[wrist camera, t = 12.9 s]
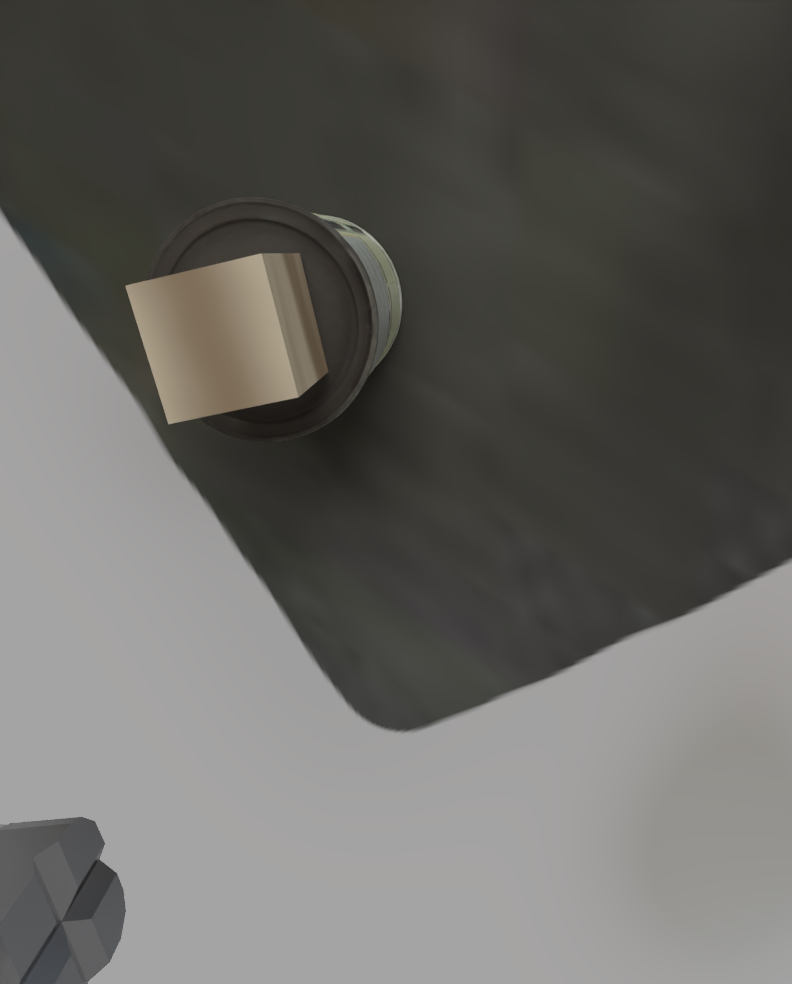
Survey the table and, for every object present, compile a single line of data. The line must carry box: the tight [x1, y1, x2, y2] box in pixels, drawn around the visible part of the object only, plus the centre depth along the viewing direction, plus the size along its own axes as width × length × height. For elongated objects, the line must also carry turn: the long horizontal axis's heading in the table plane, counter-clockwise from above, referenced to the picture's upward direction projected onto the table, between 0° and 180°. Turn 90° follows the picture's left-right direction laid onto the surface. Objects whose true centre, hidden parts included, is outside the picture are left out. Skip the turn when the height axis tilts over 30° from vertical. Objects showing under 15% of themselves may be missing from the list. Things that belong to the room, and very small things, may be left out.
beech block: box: [126, 253, 328, 424], centre depth 29 cm, size 5×5×6 cm
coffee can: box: [147, 197, 402, 442], centre depth 38 cm, size 10×10×14 cm
